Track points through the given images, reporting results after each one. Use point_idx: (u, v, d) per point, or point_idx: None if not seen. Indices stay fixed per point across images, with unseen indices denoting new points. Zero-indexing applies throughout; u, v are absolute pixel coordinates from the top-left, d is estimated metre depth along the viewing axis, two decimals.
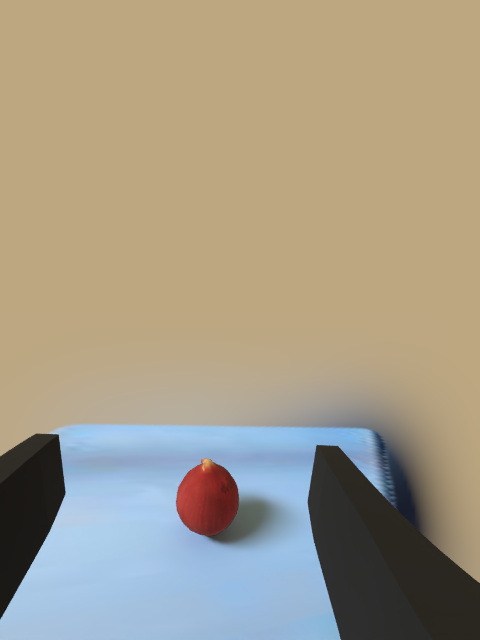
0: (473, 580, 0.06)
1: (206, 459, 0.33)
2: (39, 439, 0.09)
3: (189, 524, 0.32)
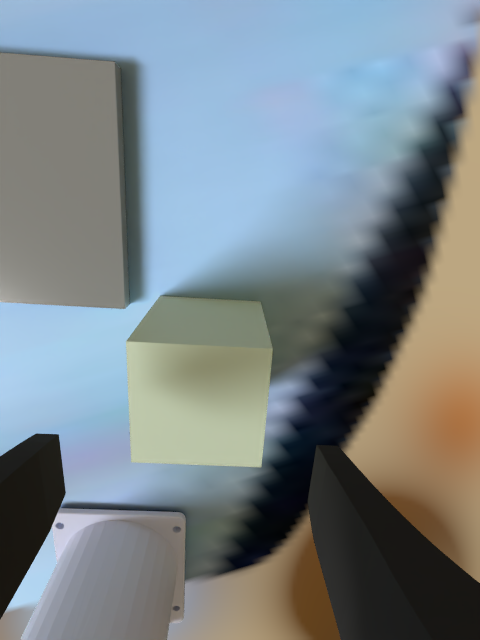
0: (473, 580, 0.06)
1: None
2: (40, 439, 0.09)
3: None
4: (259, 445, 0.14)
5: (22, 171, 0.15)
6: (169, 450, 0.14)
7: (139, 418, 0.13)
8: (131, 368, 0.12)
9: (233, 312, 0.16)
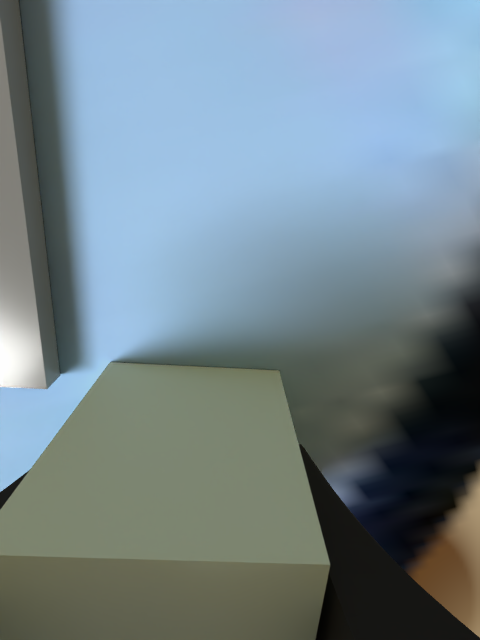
0: (409, 578, 0.06)
1: None
2: None
3: None
4: None
5: None
6: None
7: None
8: None
9: (234, 408, 0.09)
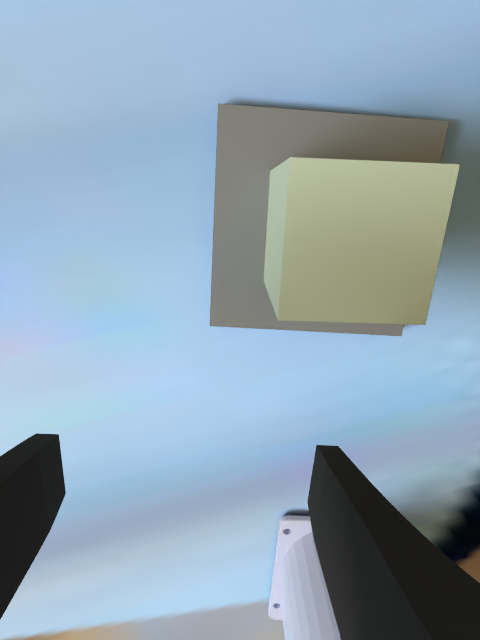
0: (473, 580, 0.06)
1: None
2: (39, 439, 0.09)
3: None
4: (427, 295, 0.12)
5: None
6: (323, 304, 0.12)
7: (293, 261, 0.11)
8: (292, 194, 0.11)
9: None
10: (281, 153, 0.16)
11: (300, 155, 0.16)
